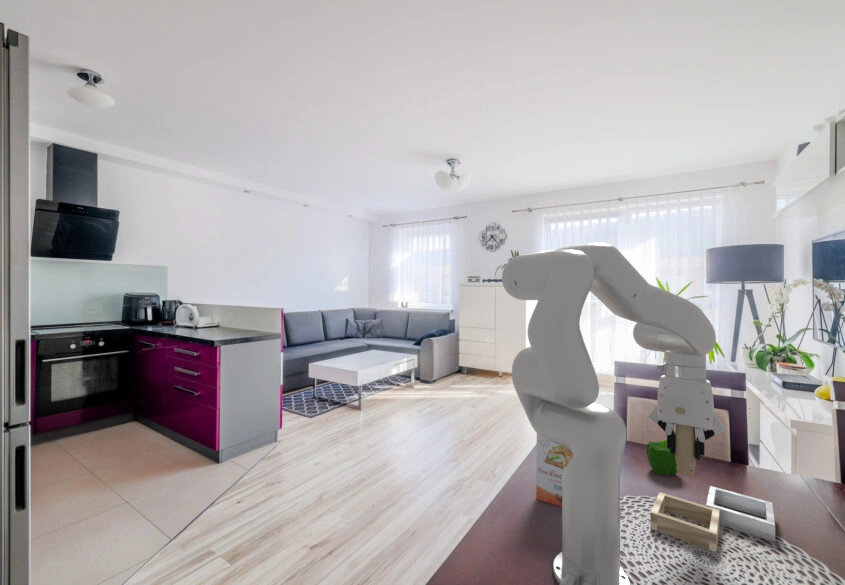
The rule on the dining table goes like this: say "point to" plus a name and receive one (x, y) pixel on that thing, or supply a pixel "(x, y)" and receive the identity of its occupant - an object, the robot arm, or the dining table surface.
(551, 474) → the cracker box
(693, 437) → the handle
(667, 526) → the frame
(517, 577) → the dining table surface
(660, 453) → the bell pepper
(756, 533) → the socket block
